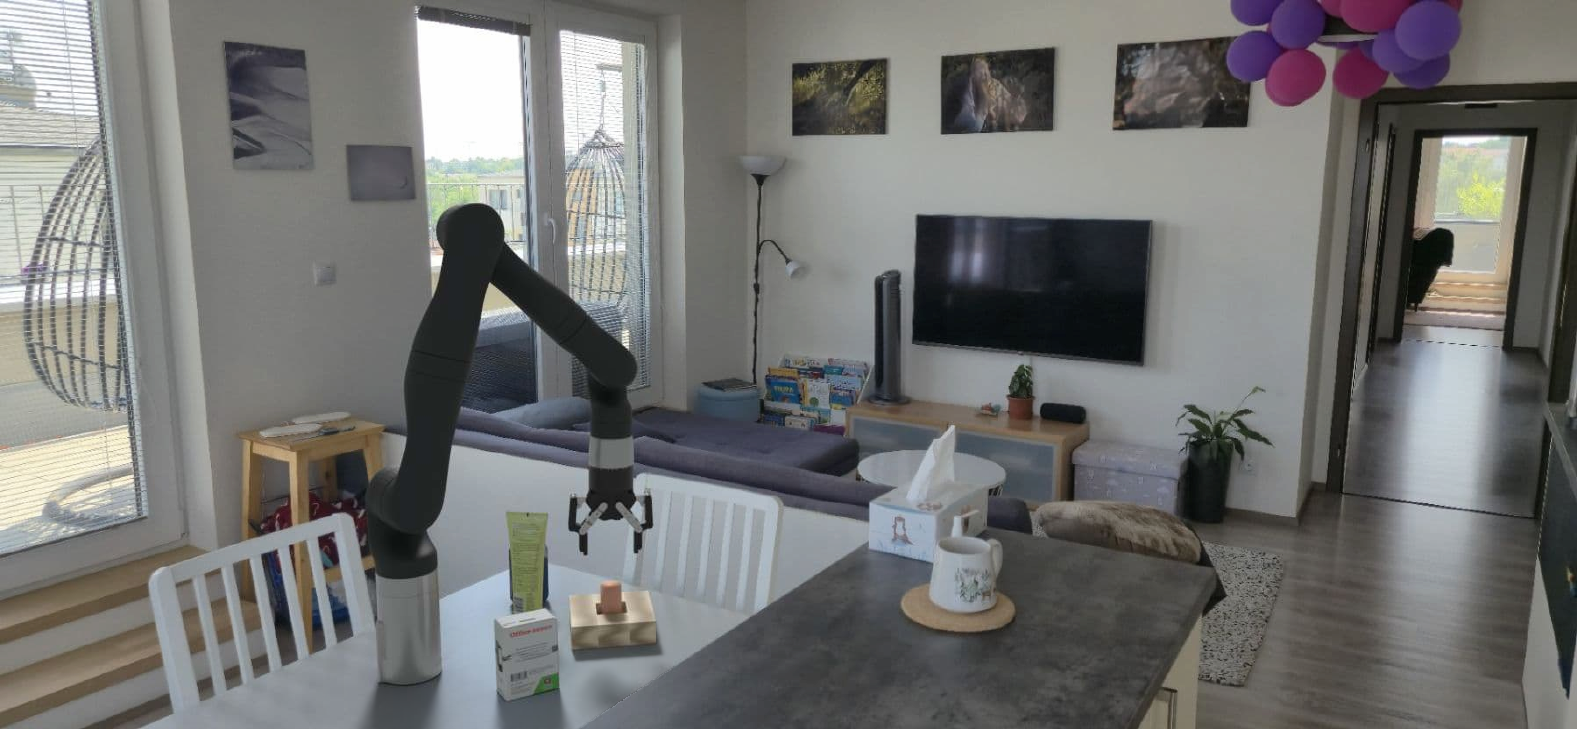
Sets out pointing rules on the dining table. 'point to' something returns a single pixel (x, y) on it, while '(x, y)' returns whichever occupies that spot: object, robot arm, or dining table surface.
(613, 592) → the peg
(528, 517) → the tube
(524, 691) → the ink box
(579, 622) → the socket
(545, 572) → the soda can
